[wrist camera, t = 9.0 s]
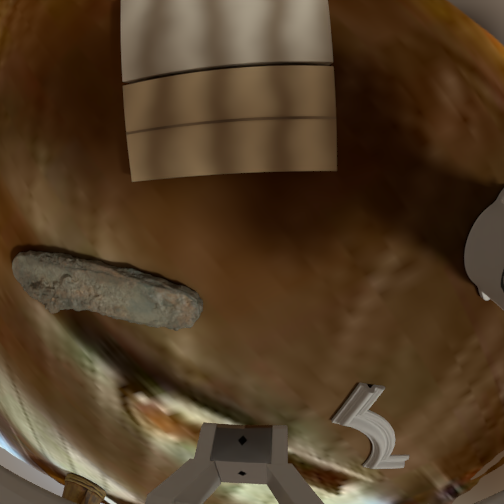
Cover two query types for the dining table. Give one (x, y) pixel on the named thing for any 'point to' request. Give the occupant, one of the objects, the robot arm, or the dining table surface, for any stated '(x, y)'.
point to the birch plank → (221, 35)
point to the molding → (371, 426)
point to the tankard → (82, 490)
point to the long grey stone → (105, 290)
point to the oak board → (232, 122)
